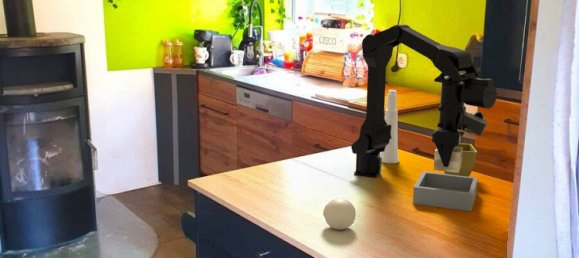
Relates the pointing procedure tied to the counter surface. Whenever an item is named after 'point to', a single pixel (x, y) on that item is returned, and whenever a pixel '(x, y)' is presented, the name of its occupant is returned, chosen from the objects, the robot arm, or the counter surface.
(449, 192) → the big crate
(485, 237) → the counter surface
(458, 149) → the small crate
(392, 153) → the cosmetic bottle
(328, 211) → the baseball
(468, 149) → the flower pot
